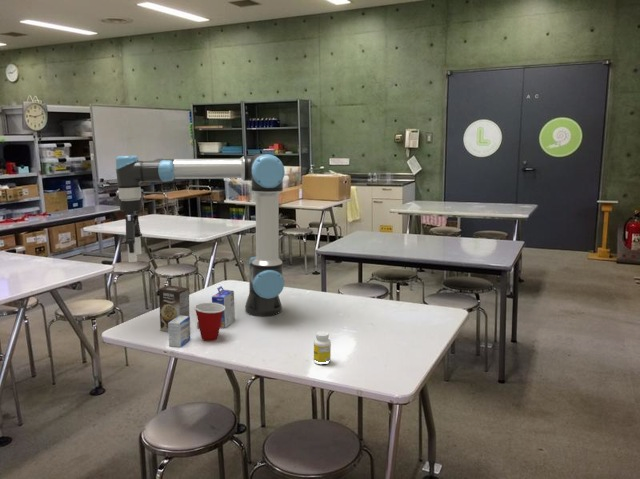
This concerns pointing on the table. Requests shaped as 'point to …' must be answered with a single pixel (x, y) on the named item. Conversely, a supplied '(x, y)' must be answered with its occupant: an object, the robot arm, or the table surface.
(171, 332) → the medicine box
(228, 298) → the ink cartridge box
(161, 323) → the coffee box
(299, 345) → the table surface
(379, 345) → the table surface
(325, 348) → the supplement bottle
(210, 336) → the plastic cup
